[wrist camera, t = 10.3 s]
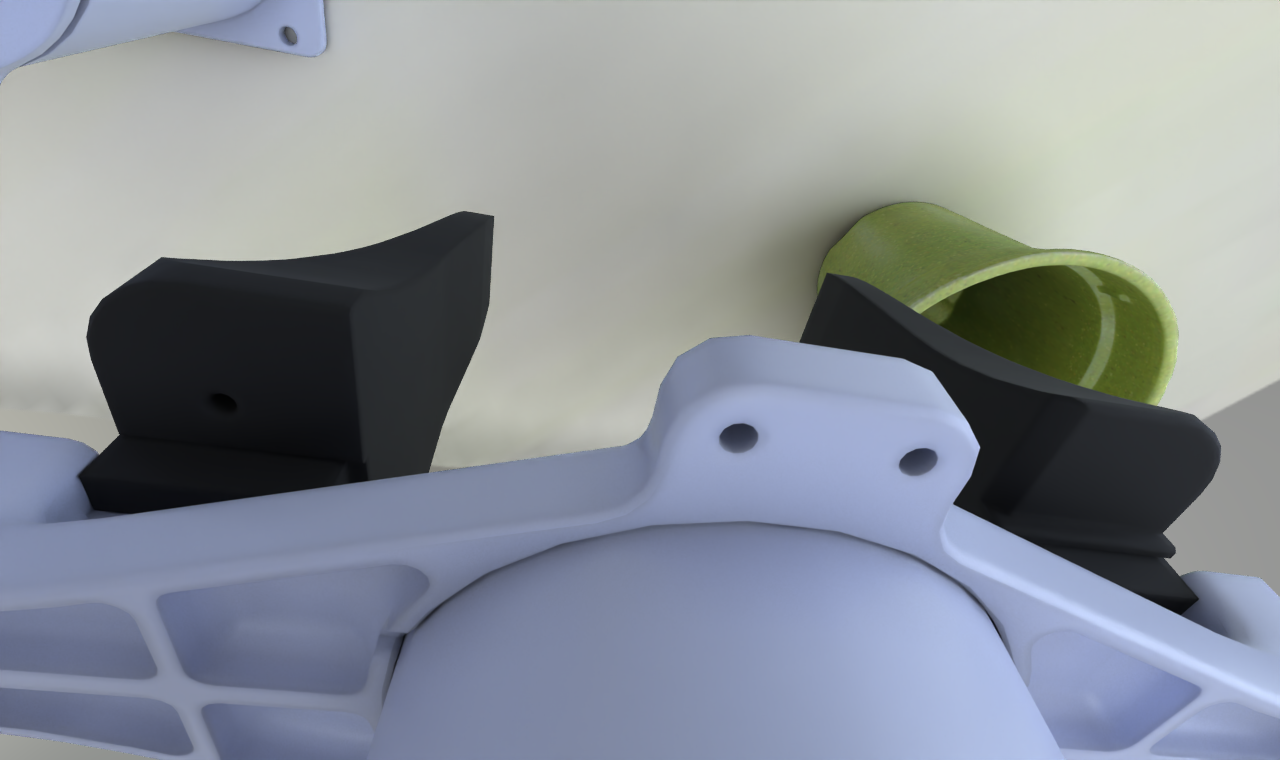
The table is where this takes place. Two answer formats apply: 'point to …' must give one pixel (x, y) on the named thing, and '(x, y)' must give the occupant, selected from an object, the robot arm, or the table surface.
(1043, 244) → the table surface
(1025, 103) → the table surface
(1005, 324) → the plant pot
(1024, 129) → the table surface
